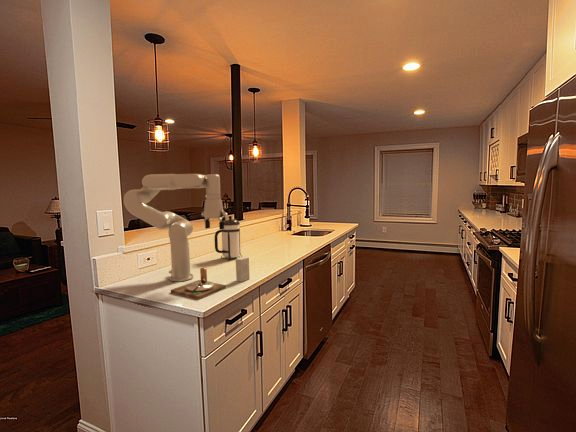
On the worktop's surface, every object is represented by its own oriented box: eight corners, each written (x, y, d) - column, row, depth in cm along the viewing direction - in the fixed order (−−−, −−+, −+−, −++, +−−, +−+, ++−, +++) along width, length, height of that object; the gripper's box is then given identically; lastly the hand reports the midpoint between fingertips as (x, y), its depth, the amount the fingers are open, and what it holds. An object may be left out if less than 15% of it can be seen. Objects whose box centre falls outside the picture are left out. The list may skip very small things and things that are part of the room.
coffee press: (223, 255, 231) (222, 214, 228) (244, 255, 228) (243, 214, 225) (215, 261, 213) (213, 217, 211) (237, 261, 211) (236, 217, 208)
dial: (192, 282, 160) (192, 267, 159) (217, 283, 158) (216, 267, 158) (179, 292, 145) (178, 275, 144) (207, 293, 144) (206, 276, 143)
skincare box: (244, 277, 173) (243, 256, 172) (249, 279, 171) (249, 257, 170) (236, 280, 169) (235, 258, 168) (241, 281, 166) (240, 259, 165)
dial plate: (170, 292, 150) (170, 289, 150) (198, 282, 166) (198, 279, 166) (199, 299, 141) (198, 296, 141) (226, 288, 156) (226, 284, 156)
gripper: (196, 197, 170) (197, 228, 172) (221, 197, 163) (223, 230, 164) (205, 197, 177) (206, 227, 179) (230, 197, 169) (231, 228, 171)
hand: (214, 228), depth 171 cm, fingers open, 9 cm apart
